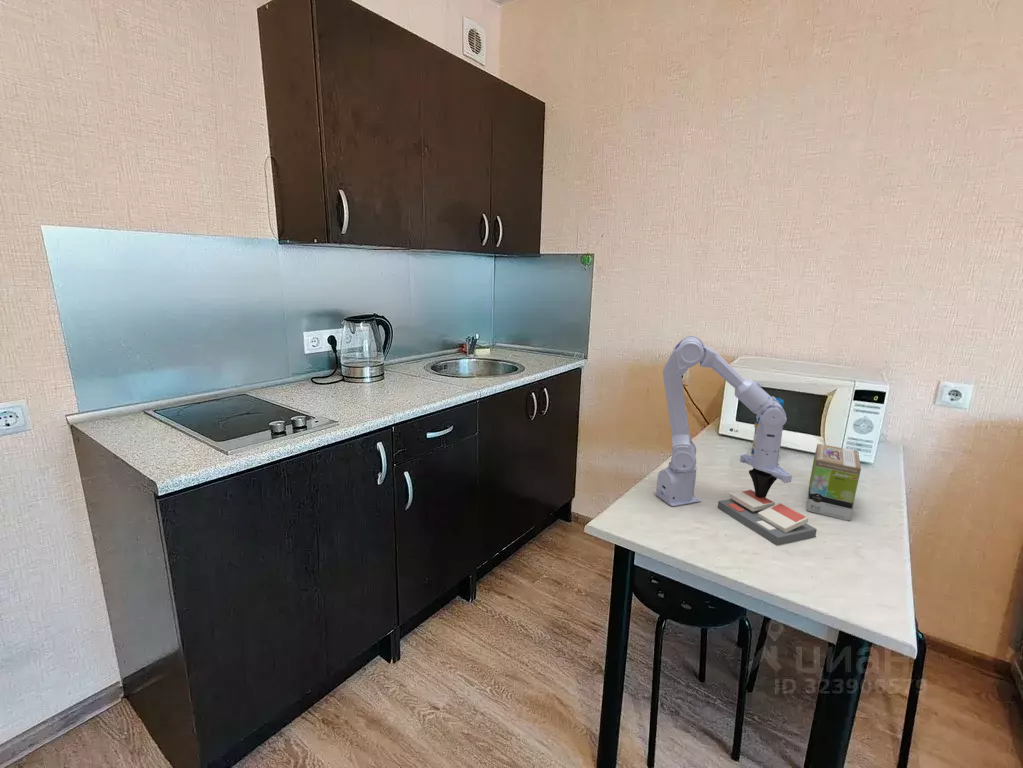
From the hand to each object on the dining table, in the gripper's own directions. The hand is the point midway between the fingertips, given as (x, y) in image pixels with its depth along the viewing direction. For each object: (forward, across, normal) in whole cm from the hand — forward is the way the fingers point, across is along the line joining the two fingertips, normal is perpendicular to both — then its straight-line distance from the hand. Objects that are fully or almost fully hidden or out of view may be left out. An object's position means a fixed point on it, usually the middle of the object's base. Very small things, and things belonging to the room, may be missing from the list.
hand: (760, 497), depth 130 cm
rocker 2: (0, -9, +3) cm, 10 cm away
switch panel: (+4, -5, +3) cm, 7 cm away
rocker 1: (0, 0, +3) cm, 3 cm away
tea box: (+4, -3, -21) cm, 21 cm away
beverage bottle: (+4, +30, -33) cm, 44 cm away
